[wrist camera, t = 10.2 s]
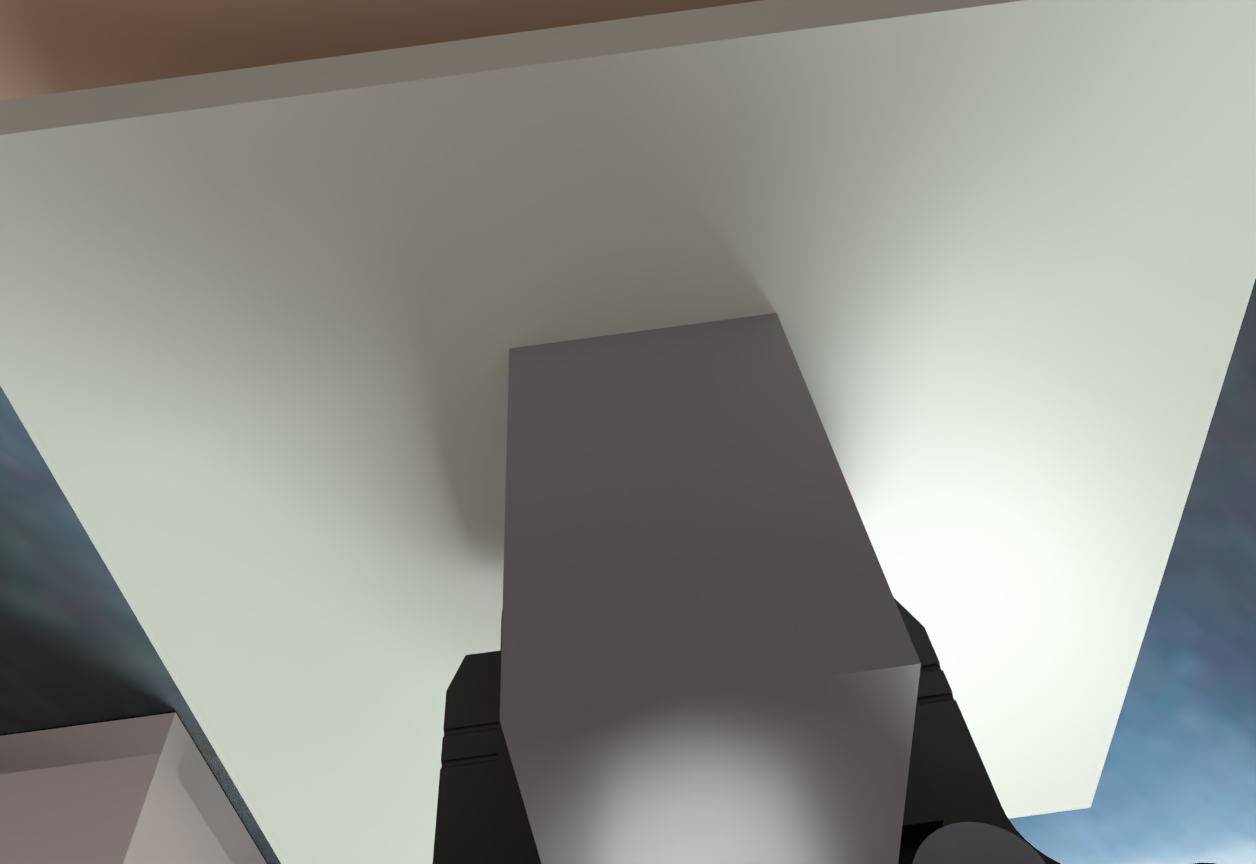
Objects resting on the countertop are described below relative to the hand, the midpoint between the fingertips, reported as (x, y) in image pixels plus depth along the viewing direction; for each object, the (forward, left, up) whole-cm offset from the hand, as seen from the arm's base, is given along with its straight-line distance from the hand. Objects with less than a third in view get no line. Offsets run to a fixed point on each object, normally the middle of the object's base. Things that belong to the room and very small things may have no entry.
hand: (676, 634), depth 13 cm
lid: (0, 0, -2) cm, 2 cm away
